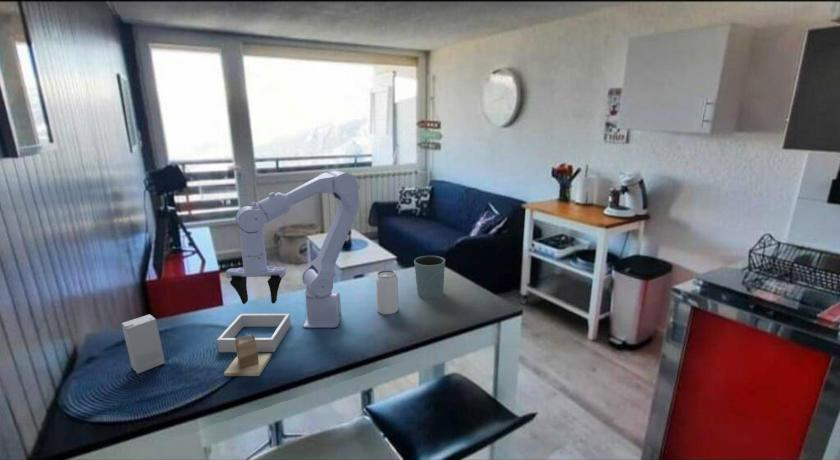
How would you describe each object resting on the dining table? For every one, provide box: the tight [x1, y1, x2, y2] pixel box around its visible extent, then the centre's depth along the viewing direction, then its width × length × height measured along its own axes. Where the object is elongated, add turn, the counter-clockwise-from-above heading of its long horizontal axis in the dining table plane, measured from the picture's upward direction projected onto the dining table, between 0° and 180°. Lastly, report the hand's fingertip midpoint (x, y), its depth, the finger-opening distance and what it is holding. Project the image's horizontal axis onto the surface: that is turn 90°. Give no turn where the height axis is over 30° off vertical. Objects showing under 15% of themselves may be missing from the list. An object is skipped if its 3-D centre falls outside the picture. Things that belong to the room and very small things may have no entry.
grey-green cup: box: [413, 255, 446, 300], centre depth 137 cm, size 10×10×12 cm
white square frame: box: [216, 313, 292, 353], centre depth 111 cm, size 14×14×4 cm
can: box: [375, 269, 399, 316], centre depth 125 cm, size 6×6×12 cm
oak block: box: [234, 333, 259, 369], centre depth 98 cm, size 4×4×6 cm
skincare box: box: [121, 314, 166, 375], centre depth 97 cm, size 6×4×12 cm
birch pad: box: [223, 353, 272, 377], centre depth 99 cm, size 8×8×1 cm
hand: (259, 302), depth 110 cm, fingers open, 7 cm apart
